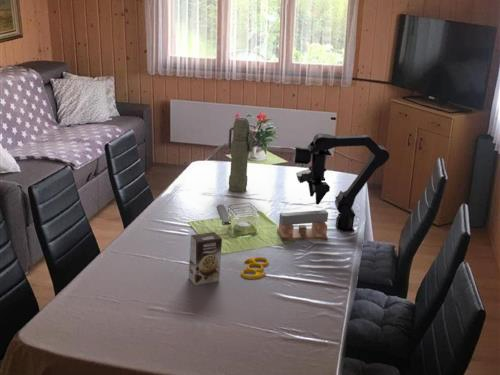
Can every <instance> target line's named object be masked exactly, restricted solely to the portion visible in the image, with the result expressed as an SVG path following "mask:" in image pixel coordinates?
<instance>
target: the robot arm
mask: <svg viewBox="0 0 500 375" xmlns="http://www.w3.org/2000/svg"><path fill="white" fill-rule="evenodd" d="M339 147H340V148H341V147H366V148H367V149H368V150H369V151H370V154H369V157H368V159H367V162H366V163H365V166H364V167H363V168H362V169H361V171H360V172H359V173H358V174H357V176H356V177H355V179H354V180H353V182H352V183H351V185H349V187H348V189H346V190H344V191H342V190H340V191H339V193H338V195H336V196H335V200H334V205H335V208H336V210H337V212H338V213H337V217H336V219H335V226H336V229H337V230H338V231H339V232H354V231H355V229H354V222H355V217H356V213H355V211H354V209H353V206H354V203H355V200H356V197H357V196H358V194H359V193H360V192H361V190H362V189H363V187H364V186H365V185H366V184H367V182H368V181H369V180H370V178H371V177H372V176H373V174H374V173H375V172H376V170H377V169H380V168H381V167H383V166H384V165H385V164H386V162H388V160H389V159H390V153H389V151H388V150H387V149H386V148H385V146H383V145H379V144H378V143H377V142H375V140H373V139H372V137H371V136H370V135H368V134H362V135H361V134H360V135H359V134H358V135H355V134H354V135H332V134H329V133H323V132H321V133H320V132H319V133H317V134H315V135H314V136H313V139H312V141H311V142H310V143H309V144H308V145H307V147H299V146H295V148H294V152H293V159H292V160H293V162H292V163H293V164H295V165H308V164H310V163H311V164H310V165H309V166H308V169H303V170H301V171H298V172H296V173H295V174H296V179H297V181H298V182H299V183H300V184H303V183H304V182H307V185H308V190H309V196H310V197H313V196H314V194H315V204H316V205H319V204H320V203H321V201H322V200H323V198H324V197H325V196H326V194H327V193H329V192H330V190H331V186H330V185H329V183H327V181H326V177H325V172H327V168H326V162H327V156H328V157H331V156H332V155H333V154H332V152H331V151H330V150H331V149H334V148H339Z"/></svg>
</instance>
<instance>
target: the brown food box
mask: <svg viewBox="0 0 500 375" xmlns="http://www.w3.org/2000/svg"><path fill="white" fill-rule="evenodd" d="M222 238H223V237H221V236H220V235H219V234H218V233H217V232H216V231H212V232H210V231H209V232H205V233H198V234H190V244H189V246H190V248H189V264H188V267H189V268H188V278H189V280H190V281H191V282H192V283H193V284H194V286H200V285H205V284H210V283H216V282H220V275H221V274H220V273H221V258H222V245H223V239H222Z"/></svg>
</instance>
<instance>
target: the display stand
mask: <svg viewBox="0 0 500 375" xmlns="http://www.w3.org/2000/svg"><path fill="white" fill-rule="evenodd" d="M294 226H295V225H294V224H293V225H281V224H280V223H278V228H277V229H276V233H277V234H278V236H279V238H280V240H281V241H283V242H284V241H328V238H329V237H328V236H327V232H328V224H327V223H326V222H319V223H311V228H310V227H309V228H308V227H306V225H305V224H298V228H294Z"/></svg>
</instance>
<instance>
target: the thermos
mask: <svg viewBox="0 0 500 375" xmlns="http://www.w3.org/2000/svg"><path fill="white" fill-rule="evenodd" d="M250 127H251V126H250V122H249V120H248V119H247V118H245V117H238V118H236V119H234V123H233V126H232V127H230V129H228V145H227V146H228V149H229V150H230V156H231V160H230V174H229V177H228V191H230V192H231V193H237V194H239V193H241V194H242V193H245V192H247V186H248V160H249V159H248V158H249V156H250V152H252V151H253V143H254V132H253V130H250ZM232 135H233V136H232Z"/></svg>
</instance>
